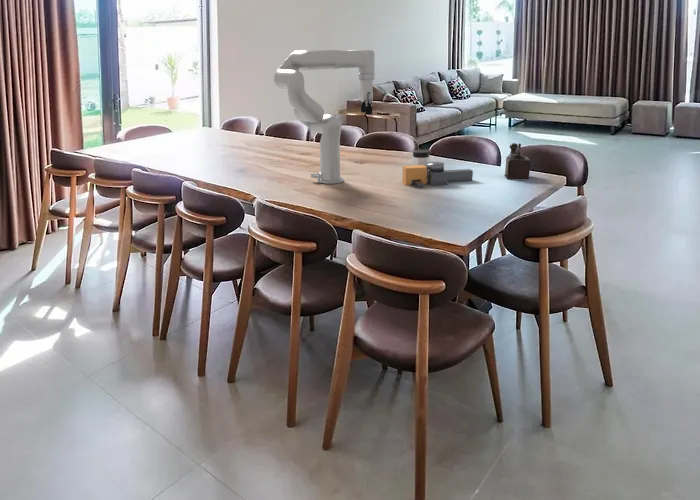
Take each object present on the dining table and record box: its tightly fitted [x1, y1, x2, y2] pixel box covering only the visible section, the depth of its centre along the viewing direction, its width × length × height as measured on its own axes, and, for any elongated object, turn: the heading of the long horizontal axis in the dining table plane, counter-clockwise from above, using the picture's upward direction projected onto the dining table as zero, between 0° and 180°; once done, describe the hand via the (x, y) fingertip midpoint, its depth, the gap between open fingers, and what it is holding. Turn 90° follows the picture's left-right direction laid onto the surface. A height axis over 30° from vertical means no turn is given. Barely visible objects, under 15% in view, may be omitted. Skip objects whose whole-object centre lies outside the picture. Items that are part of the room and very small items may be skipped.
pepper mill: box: [504, 142, 531, 180], centre depth 302 cm, size 16×11×18 cm
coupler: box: [411, 161, 474, 189], centre depth 298 cm, size 30×18×9 cm, turn 101°
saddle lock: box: [401, 164, 427, 186], centre depth 296 cm, size 10×6×8 cm, turn 101°
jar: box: [411, 149, 431, 167], centre depth 312 cm, size 9×8×12 cm
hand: (366, 113), depth 306 cm, fingers open, 9 cm apart
